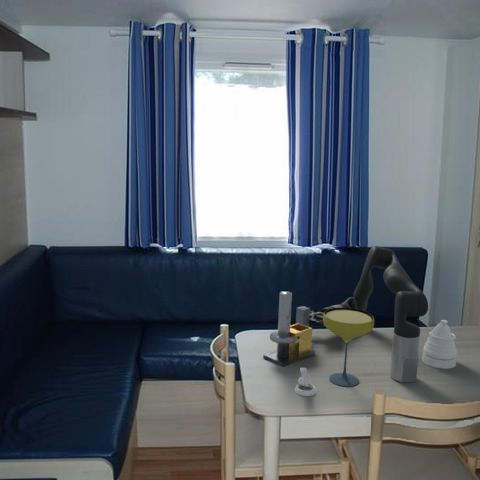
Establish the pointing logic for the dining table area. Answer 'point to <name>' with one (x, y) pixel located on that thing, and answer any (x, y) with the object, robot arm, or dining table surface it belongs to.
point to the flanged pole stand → (289, 336)
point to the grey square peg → (303, 315)
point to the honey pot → (440, 347)
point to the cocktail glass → (347, 334)
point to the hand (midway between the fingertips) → (309, 321)
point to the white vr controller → (305, 384)
